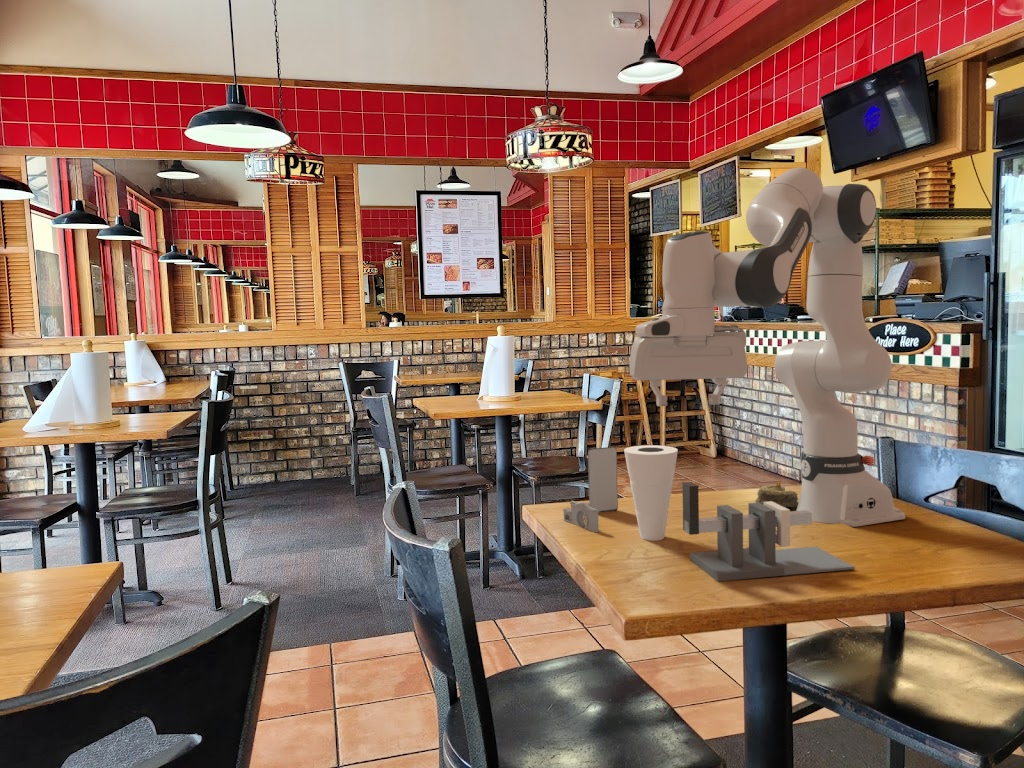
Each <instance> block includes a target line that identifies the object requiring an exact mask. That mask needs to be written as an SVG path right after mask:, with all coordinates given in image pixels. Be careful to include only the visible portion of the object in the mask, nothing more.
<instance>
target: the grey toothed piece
mask: <svg viewBox="0 0 1024 768" xmlns="http://www.w3.org/2000/svg"><path fill="white" fill-rule="evenodd" d="M570 501H571V502H569V504H570V507H564V508H563V509H562V511H563V521H565V522H567V523H570V524H573V525H575V526H577V527H579V528H583V529H584V530H587V531H590V532H593V533H598V532H599V531H600V530H599V527H600V526H599V513H601V512H600V510H598V509H594V508H593V507H592V506H591V505H590V504H589V502H585V501H581V502H577V501H574V500H570Z"/></svg>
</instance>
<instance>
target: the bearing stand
mask: <svg viewBox="0 0 1024 768" xmlns="http://www.w3.org/2000/svg"><path fill="white" fill-rule="evenodd" d="M750 514H757V515H759V516H760V528H756V529H748V547H745V548H744V533H743V532H744V529H743V515H744V513H743V512H741V511H739V510H737V509H736V508H734V507H732V506H731V505H729V504H724V505H723V504H720V505H719V504H718V505H716V517H726V518H728V531H718V532H716V534H717V535H716V536H717V540H716V541H717V550H708V551H699V552H697V551H696V552H689V560H690V561H691V562H693V563H694V564H695V565H697V566H698V567H699V568H700V569H702V570H703V571H704V572H705V573H706V574H708V576H710V577H711V578H713V579H714V580H715V581H717V582H726V581H727V582H728V581H737V580H747V579H759V578H769V577H770V578H771V577H781V576H785V575H784V568H783V567H781V566H780V565H778V564H776V550H777V549H776V543H775V510H773V509H771V508H769V507H767V506H765V505H763V504H761V503H756V502H750V503H748V515H750Z"/></svg>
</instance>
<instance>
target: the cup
mask: <svg viewBox="0 0 1024 768" xmlns="http://www.w3.org/2000/svg"><path fill="white" fill-rule="evenodd" d="M623 450H624V451H623V452H624V457H625V462H626V467H627V472H628V478H629V483H630V488H631V494H632V495H631V496H632V499H633V504H634V509H635V516H636V520H637V521H636V522H637V526H638V531H639V536H640V539H642V540H644V541H650V542H651V541H652V542H653V541H654V542H657V541H662V540H663V539H665V537H666V536H665V535H666V530H667V522H668V518H669V517H668V516H669V509H670V502H671V497H672V490H673V484H674V483H673V482H674V477H675V472H676V471H675V470H676V464H677V459H678V458H677V457H678V448H676V447H675V446H674V447H673V446H668V445H658V444H657V445H652V444H650V445H649V444H648V445H647V444H646V445H634V446H630V447H626V448H624V449H623Z"/></svg>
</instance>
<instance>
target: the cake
mask: <svg viewBox="0 0 1024 768" xmlns="http://www.w3.org/2000/svg"><path fill="white" fill-rule="evenodd" d="M769 501H772V502H774V503H776V504H779V505H781V506H783V507H785V508H790V507H793V508H794V507H798V503H799V497H798V493H797V492H796V491H793V490H792V489H788V490H786V488H785V486H782V485H781V481H777V483H776V484H771V485H770V484H768V485H764V486H761V487H760V488H759V489H758V491H757V498H756V499H755V503H761V504H763V505H764V502H769Z"/></svg>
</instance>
